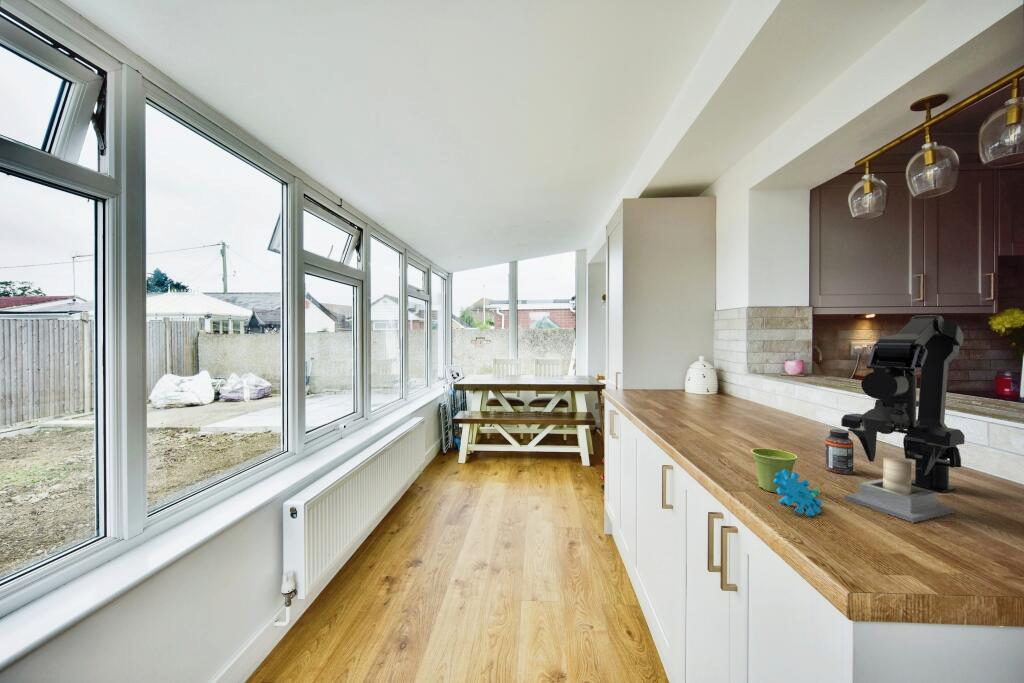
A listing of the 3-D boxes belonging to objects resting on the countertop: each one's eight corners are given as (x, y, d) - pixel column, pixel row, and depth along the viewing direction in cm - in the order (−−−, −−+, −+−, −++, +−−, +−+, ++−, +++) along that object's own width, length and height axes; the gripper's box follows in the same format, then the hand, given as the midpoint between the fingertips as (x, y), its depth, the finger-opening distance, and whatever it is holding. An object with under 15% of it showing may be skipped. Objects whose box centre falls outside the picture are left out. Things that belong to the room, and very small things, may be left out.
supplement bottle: (828, 466, 112) (828, 426, 112) (855, 472, 108) (855, 430, 107) (822, 471, 108) (822, 430, 108) (850, 476, 104) (851, 434, 104)
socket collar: (884, 491, 91) (884, 478, 91) (936, 506, 83) (936, 492, 83) (859, 496, 88) (859, 483, 88) (910, 513, 80) (911, 498, 80)
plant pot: (753, 479, 102) (754, 445, 102) (798, 487, 96) (798, 452, 96) (747, 489, 95) (747, 453, 95) (795, 500, 89) (796, 461, 89)
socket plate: (883, 491, 94) (883, 487, 94) (953, 512, 82) (953, 508, 82) (844, 499, 89) (844, 495, 89) (912, 523, 78) (912, 518, 78)
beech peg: (890, 496, 89) (890, 456, 88) (915, 504, 84) (916, 462, 84) (878, 498, 87) (878, 458, 87) (903, 506, 83) (903, 464, 83)
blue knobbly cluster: (795, 513, 78) (769, 466, 86) (774, 524, 82) (751, 479, 90) (838, 515, 81) (809, 469, 88) (816, 526, 85) (790, 482, 92)
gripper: (825, 392, 92) (825, 458, 92) (933, 404, 74) (932, 487, 74) (856, 390, 95) (856, 454, 95) (966, 401, 78) (965, 480, 78)
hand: (896, 467), depth 86 cm, fingers open, 9 cm apart
